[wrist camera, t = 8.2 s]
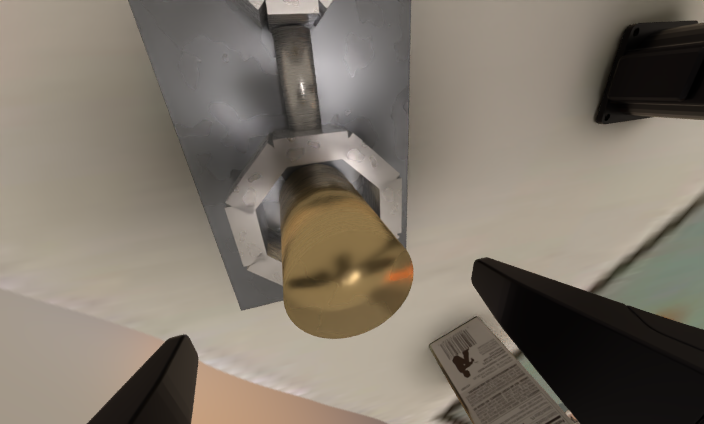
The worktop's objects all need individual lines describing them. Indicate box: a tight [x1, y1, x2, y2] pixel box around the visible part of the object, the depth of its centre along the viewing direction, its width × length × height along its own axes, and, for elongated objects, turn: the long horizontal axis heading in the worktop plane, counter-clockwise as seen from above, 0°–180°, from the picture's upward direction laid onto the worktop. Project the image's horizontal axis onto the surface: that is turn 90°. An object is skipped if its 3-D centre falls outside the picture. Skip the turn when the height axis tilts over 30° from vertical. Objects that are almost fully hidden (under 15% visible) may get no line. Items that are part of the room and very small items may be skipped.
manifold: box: [128, 0, 411, 311], centre depth 13 cm, size 12×24×4 cm, turn 4°
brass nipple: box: [279, 164, 413, 339], centre depth 12 cm, size 4×4×8 cm
